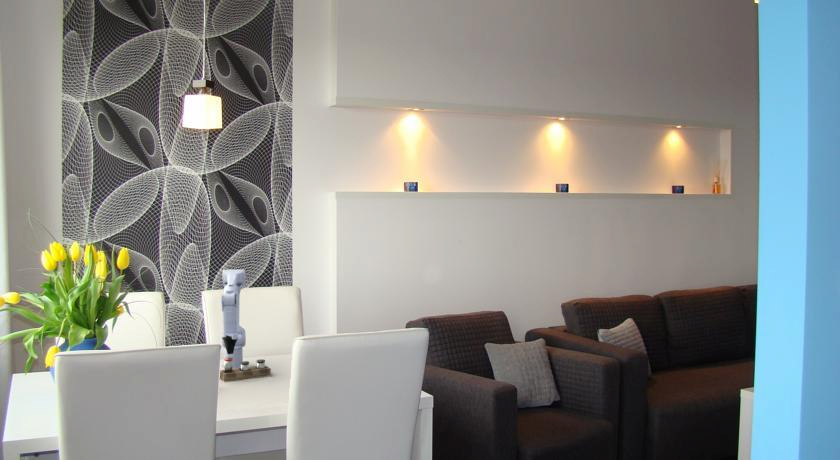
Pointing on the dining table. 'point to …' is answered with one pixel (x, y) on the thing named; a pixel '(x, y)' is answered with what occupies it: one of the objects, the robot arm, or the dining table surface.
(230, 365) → the plunger red
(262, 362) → the plunger
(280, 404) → the dining table surface
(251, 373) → the jig
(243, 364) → the plunger
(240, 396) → the dining table surface
